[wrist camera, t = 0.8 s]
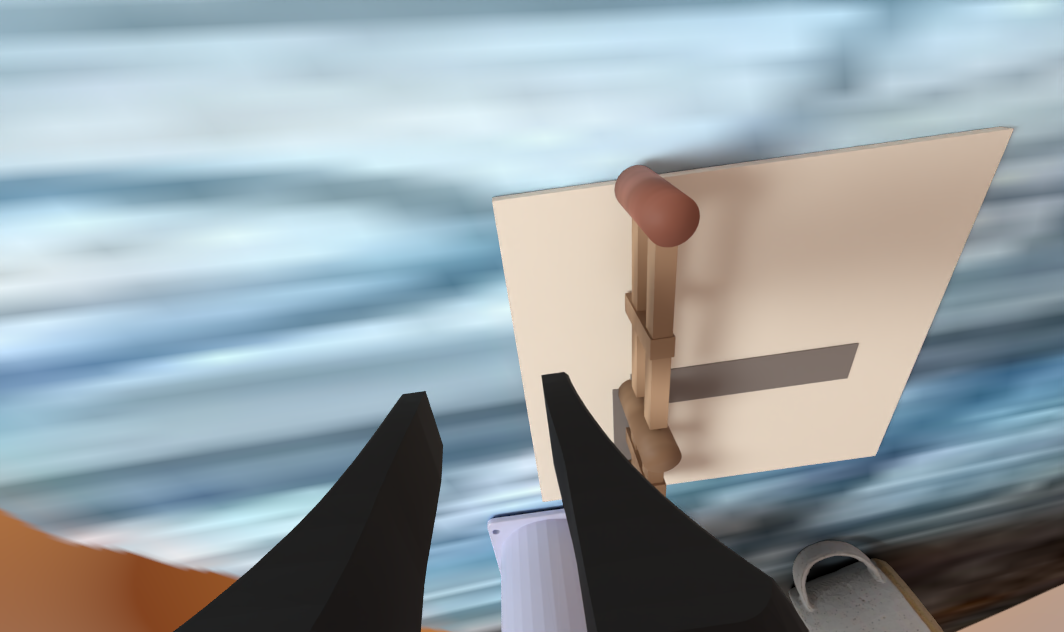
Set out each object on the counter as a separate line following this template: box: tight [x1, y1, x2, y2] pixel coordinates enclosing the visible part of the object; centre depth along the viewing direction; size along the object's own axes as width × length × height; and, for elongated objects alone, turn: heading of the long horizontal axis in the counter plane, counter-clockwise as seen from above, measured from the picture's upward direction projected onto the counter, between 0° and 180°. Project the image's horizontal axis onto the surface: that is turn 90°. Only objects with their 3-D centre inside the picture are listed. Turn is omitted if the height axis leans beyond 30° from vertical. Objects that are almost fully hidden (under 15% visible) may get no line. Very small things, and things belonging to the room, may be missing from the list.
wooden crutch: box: [614, 165, 700, 430], centre depth 19 cm, size 11×2×4 cm, turn 7°
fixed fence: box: [618, 379, 682, 497], centre depth 24 cm, size 8×2×5 cm, turn 7°
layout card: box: [492, 127, 1014, 502], centre depth 24 cm, size 20×22×1 cm
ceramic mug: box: [789, 540, 944, 632], centre depth 33 cm, size 11×8×8 cm
